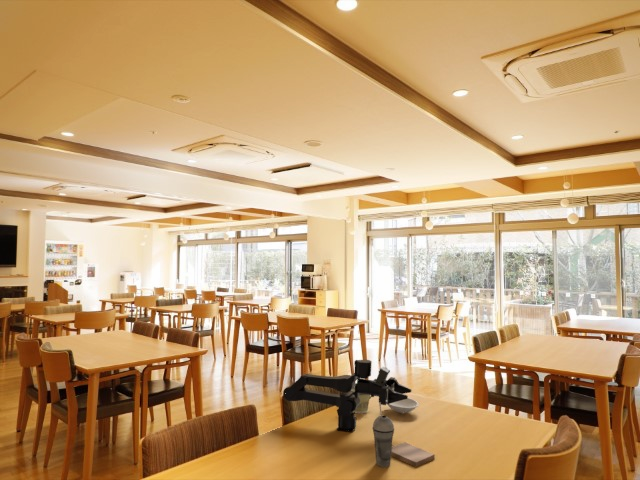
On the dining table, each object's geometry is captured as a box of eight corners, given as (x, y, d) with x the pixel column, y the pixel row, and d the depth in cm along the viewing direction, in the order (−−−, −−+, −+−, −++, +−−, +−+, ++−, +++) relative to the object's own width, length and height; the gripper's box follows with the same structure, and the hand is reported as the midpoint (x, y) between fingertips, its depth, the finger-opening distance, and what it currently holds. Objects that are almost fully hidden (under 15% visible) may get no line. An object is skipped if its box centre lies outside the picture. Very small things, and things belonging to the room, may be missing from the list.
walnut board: (386, 453, 151) (386, 449, 151) (404, 446, 157) (404, 442, 157) (416, 467, 141) (416, 462, 141) (434, 458, 147) (434, 454, 147)
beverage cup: (394, 470, 139) (394, 406, 140) (371, 467, 140) (371, 405, 141) (394, 460, 146) (394, 400, 147) (373, 458, 147) (373, 398, 148)
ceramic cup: (356, 416, 189) (356, 393, 190) (345, 409, 198) (345, 387, 199) (380, 411, 195) (381, 389, 196) (368, 405, 204) (368, 384, 205)
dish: (426, 417, 189) (426, 405, 189) (398, 421, 183) (398, 409, 184) (403, 405, 205) (403, 394, 206) (377, 408, 200) (377, 397, 200)
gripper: (365, 372, 164) (406, 378, 158) (376, 362, 181) (413, 367, 175) (363, 402, 163) (405, 409, 157) (375, 389, 180) (412, 395, 175)
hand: (409, 393), depth 166 cm, fingers open, 9 cm apart
